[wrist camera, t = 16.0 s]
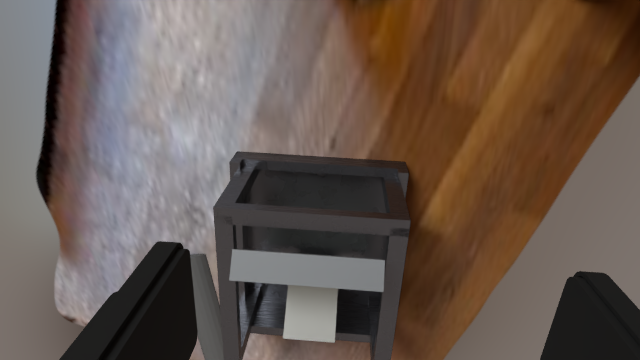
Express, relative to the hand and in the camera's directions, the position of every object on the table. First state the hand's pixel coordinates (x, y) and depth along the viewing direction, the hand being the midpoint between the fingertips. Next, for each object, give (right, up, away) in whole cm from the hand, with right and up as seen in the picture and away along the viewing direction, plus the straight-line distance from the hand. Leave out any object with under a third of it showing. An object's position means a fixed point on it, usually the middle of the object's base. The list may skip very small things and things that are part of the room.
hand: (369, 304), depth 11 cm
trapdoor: (-2, -4, +29) cm, 29 cm away
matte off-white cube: (-2, -8, +35) cm, 36 cm away
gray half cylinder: (-15, -14, +43) cm, 48 cm away
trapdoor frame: (-2, -3, +37) cm, 37 cm away
